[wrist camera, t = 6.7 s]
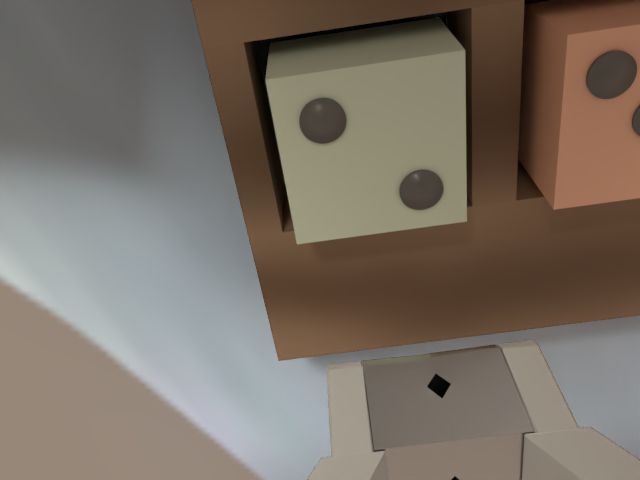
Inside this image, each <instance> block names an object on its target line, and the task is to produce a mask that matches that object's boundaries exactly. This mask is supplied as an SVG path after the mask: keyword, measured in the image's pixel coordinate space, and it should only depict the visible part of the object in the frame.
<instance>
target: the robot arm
mask: <svg viewBox="0 0 640 480" xmlns="http://www.w3.org/2000/svg"><path fill="white" fill-rule="evenodd" d="M363 369H364V373H363ZM364 378H365V380H364ZM327 388H328V406H329V425H330V443H331V457H326V458H321V459H320V460H319V462H318V463H317V465H316V466H315V468H314V469H313V471H312V473H311V474H310V476H309V477H308V479H307V480H640V460H639V459H638V458H636V457H635V456H633V455H632V454H630V453H629V452H627V451H626V450H624V449H623V448H621V447H620V446H618V445H617V444H615V443H614V442H612V441H611V440H609V439H608V438H606V437H605V436H603V435H602V434H600V433H599V432H597V431H596V430H594V429H593V428H591V427H583V428H579V427H578V425H577V423H576V421H575V419H574V417H573V414H572V412H571V410H570V408H569V406H568V404H567V402H566V400H565V398H564V396H563V394H562V392H561V390H560V388H559V386H558V384H557V382H556V380H555V378H554V376H553V374H552V372H551V370H550V368H549V366H548V364H547V362H546V360H545V358H544V356H543V354H542V352H541V350H540V348H539V346H538V344H537V343H536V342H535V341H533V340H524V341H517V342H510V343H503V344H498V345H497V346H496V345H489V346H482V347H474V348H467V349H459V350H452V351H445V352H437V353H430V354H424V355H414V356H404V357H394V358H384V359H374V360H364V361H363V366H362V362H352V363H341V364H330V365H328V368H327Z"/></svg>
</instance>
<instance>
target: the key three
mask: <svg viewBox="0 0 640 480" xmlns="http://www.w3.org/2000/svg"><path fill="white" fill-rule="evenodd" d="M519 161H520V162H521V164H522V165H523V167H524V168H525V169H526V171H527V172H528V174H529V175H530V177H531V178H532V179H533V181H534V182H535V184H536V185H537V187H538V188H539V189H540V191H541V192H542V194H543V195H544V197H545V198H546V200H547V201H548V202H549V204H550V205H551V207H552V208H553V210H555V209H563V208H570V207H578V206H585V205H592V204H600V203H607V202H615V201H622V200H629V199H637V198H640V0H551V1H544V2H537V3H531V4H525V17H524V41H523V65H522V89H521V112H520V136H519Z"/></svg>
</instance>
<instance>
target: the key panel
mask: <svg viewBox="0 0 640 480" xmlns="http://www.w3.org/2000/svg"><path fill="white" fill-rule="evenodd" d="M191 2H192V6H193V10H194V14H195V18H196V22H197V26H198V30H199V35H200V39H201V43H202V47H203V51H204V55H205V59H206V63H207V68H208V72H209V76H210V80H211V84H212V88H213V92H214V96H215V100H216V105H217V109H218V113H219V117H220V121H221V125H222V129H223V133H224V138H225V142H226V146H227V150H228V154H229V158H230V162H231V166H232V170H233V175H234V179H235V183H236V187H237V191H238V195H239V199H240V203H241V208H242V212H243V216H244V220H245V224H246V228H247V232H248V236H249V240H250V245H251V249H252V253H253V257H254V261H255V265H256V269H257V273H258V277H259V282H260V286H261V290H262V294H263V298H264V302H265V306H266V310H267V315H268V319H269V323H270V327H271V331H272V335H273V339H274V343H275V347H276V352H277V356H278V360H279V361H281V360H289V359H296V358H304V357H312V356H320V355H328V354H336V353H344V352H352V351H360V350H368V349H376V348H384V347H392V346H399V345H407V344H415V343H423V342H431V341H439V340H447V339H455V338H463V337H471V336H479V335H487V334H494V333H502V332H510V331H518V330H526V329H534V328H542V327H550V326H558V325H566V324H574V323H582V322H589V321H597V320H605V319H613V318H621V317H629V316H637V315H640V198H637V199H629V200H622V201H615V202H607V203H600V204H592V205H585V206H578V207H570V208H563V209H555V210H553V208H552V207H551V205H550V204H549V202H548V201H547V200H546V198H545V197H544V195H543V194H542V192H541V191H540V189H539V188H538V187H537V185H536V184H535V182H534V181H533V179H532V178H531V177H530V175H529V174H528V172H527V171H526V169H525V168H524V167H523V165H522V164H521V162H520V161H519V151H518V146H519V122H520V98H521V74H522V50H523V26H524V2H525V0H191ZM442 12H446V16H447V28H448V29H449V31H450V32H451V33H452V34H453V36H454V37H455V38H456V39H457V40H458V42H459V43H460V44H461V45H462V47H463V48H464V49H465V67H466V174H467V222H459V223H452V224H445V225H437V226H430V227H422V228H415V229H408V230H400V231H393V232H385V233H378V234H371V235H363V236H356V237H348V238H341V239H334V240H326V241H319V242H312V243H304V244H297V242H296V237H295V232H294V227H293V221H292V216H291V211H290V206H289V201H288V195H287V190H286V185H285V184H284V181H283V175H282V170H281V165H280V160H279V155H278V150H277V144H276V139H275V134H274V129H273V124H272V119H271V113H270V108H269V103H268V98H267V93H266V88H265V83H264V77H263V72H262V67H261V62H260V57H259V52H258V46H257V40H264V39H270V38H277V37H284V36H290V35H297V34H303V33H310V32H316V31H323V30H330V29H336V28H343V27H349V26H356V25H363V24H369V23H376V22H382V21H389V20H396V19H402V18H409V17H415V16H422V15H428V14H435V13H442Z"/></svg>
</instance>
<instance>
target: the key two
mask: <svg viewBox="0 0 640 480" xmlns="http://www.w3.org/2000/svg"><path fill="white" fill-rule="evenodd" d="M265 81H266V86H267V92H268V97H269V102H270V107H271V112H272V118H273V123H274V128H275V133H276V138H277V144H278V149H279V154H280V159H281V164H282V169H283V175H284V180H285V185H286V190H287V195H288V201H289V206H290V211H291V216H292V221H293V227H294V232H295V237H296V242H297V244H304V243H312V242H319V241H326V240H334V239H341V238H348V237H356V236H363V235H371V234H378V233H385V232H393V231H400V230H408V229H415V228H422V227H430V226H437V225H445V224H452V223H459V222H467V174H466V67H465V49H464V48H463V47H462V45H461V44H460V43H459V42H458V40H457V39H456V38H455V37H454V36H453V34H452V33H451V32H450V31H449V29H448V28H447V27H446V26H445V24H444V23H443V22H442V21H441V19H440V18H439V17H438V18H432V19H425V20H419V21H412V22H405V23H399V24H392V25H386V26H379V27H372V28H366V29H359V30H353V31H346V32H339V33H333V34H326V35H320V36H313V37H306V38H300V39H293V40H287V41H280V42H273V43H270V46H269V54H268V62H267V70H266V78H265Z"/></svg>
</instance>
